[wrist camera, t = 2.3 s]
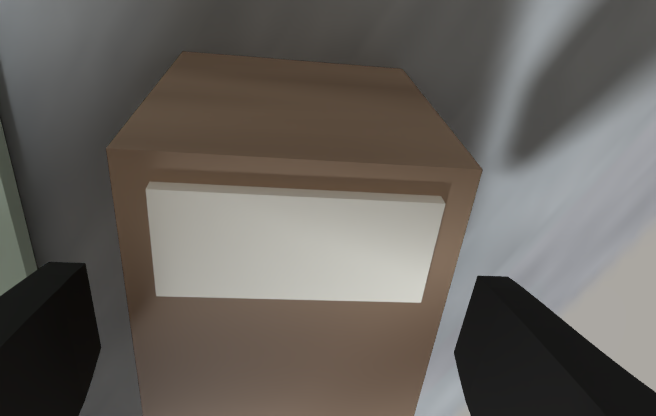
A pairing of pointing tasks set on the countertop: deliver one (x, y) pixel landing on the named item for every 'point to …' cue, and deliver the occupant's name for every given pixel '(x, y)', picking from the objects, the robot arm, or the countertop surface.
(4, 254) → the sage mat
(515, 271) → the countertop surface
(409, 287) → the labeled brown box
